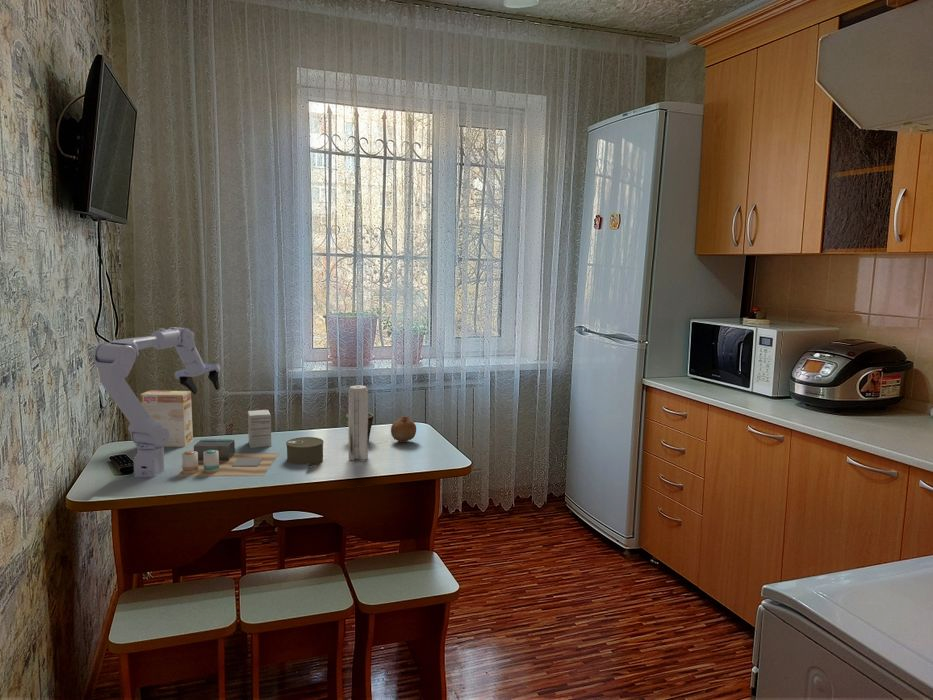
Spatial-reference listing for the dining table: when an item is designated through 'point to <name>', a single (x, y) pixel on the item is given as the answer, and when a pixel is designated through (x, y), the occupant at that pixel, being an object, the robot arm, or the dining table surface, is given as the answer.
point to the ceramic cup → (370, 420)
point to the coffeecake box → (171, 414)
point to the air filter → (358, 422)
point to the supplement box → (259, 428)
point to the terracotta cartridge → (190, 462)
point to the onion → (403, 429)
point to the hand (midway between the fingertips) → (206, 390)
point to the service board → (230, 470)
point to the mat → (247, 462)
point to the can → (305, 451)
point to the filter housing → (216, 448)
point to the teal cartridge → (211, 461)
